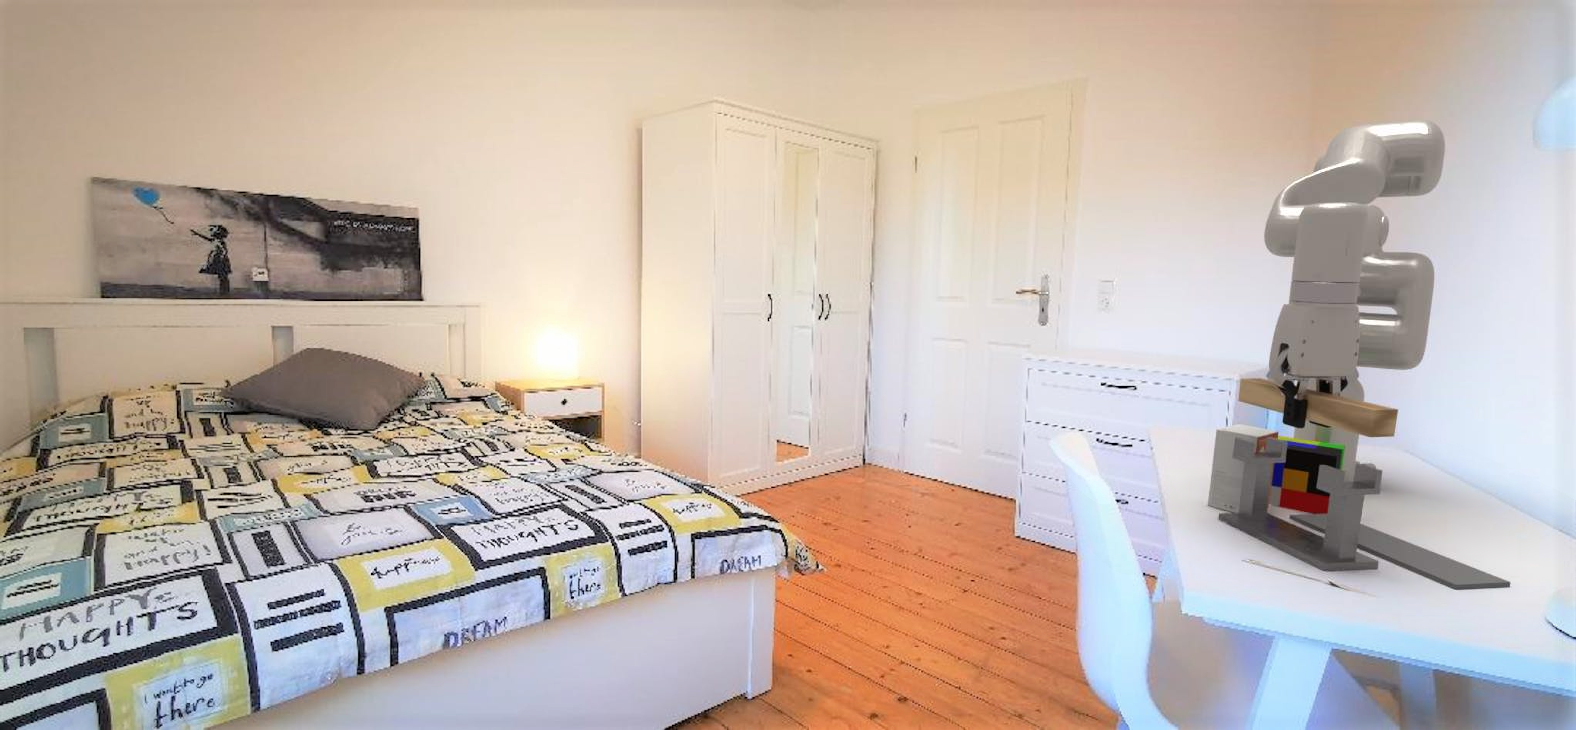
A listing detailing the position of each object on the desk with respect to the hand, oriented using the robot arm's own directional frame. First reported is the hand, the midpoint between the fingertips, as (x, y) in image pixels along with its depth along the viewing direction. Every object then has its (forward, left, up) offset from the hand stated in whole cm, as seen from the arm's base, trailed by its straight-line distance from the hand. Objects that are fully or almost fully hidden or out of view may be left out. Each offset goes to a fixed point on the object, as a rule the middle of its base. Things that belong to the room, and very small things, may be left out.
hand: (1306, 424), depth 102 cm
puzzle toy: (-16, -16, -18) cm, 28 cm away
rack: (0, 0, -17) cm, 17 cm away
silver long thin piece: (+7, +13, -18) cm, 23 cm away
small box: (-4, -14, -17) cm, 23 cm away
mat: (-12, +4, -17) cm, 21 cm away
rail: (0, 0, +1) cm, 1 cm away
